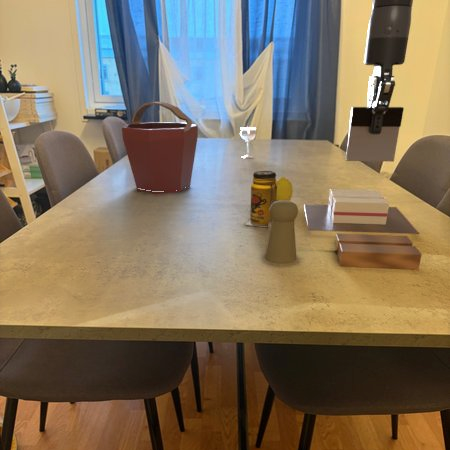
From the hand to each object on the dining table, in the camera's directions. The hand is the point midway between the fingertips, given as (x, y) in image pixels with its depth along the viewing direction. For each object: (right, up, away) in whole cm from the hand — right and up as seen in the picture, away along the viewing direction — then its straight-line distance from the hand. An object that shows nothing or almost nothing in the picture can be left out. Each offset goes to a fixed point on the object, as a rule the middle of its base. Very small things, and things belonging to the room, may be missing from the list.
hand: (373, 133), depth 90 cm
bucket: (-51, +1, +48) cm, 70 cm away
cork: (-20, -27, -6) cm, 34 cm away
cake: (+1, -13, +18) cm, 22 cm away
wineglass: (-21, +28, +101) cm, 107 cm away
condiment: (-22, -16, +15) cm, 31 cm away
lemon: (-16, -10, +28) cm, 33 cm away
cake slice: (0, -16, +12) cm, 20 cm away
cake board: (+1, -16, +15) cm, 22 cm away
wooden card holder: (-2, -27, -6) cm, 27 cm away
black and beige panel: (0, -5, +3) cm, 6 cm away
